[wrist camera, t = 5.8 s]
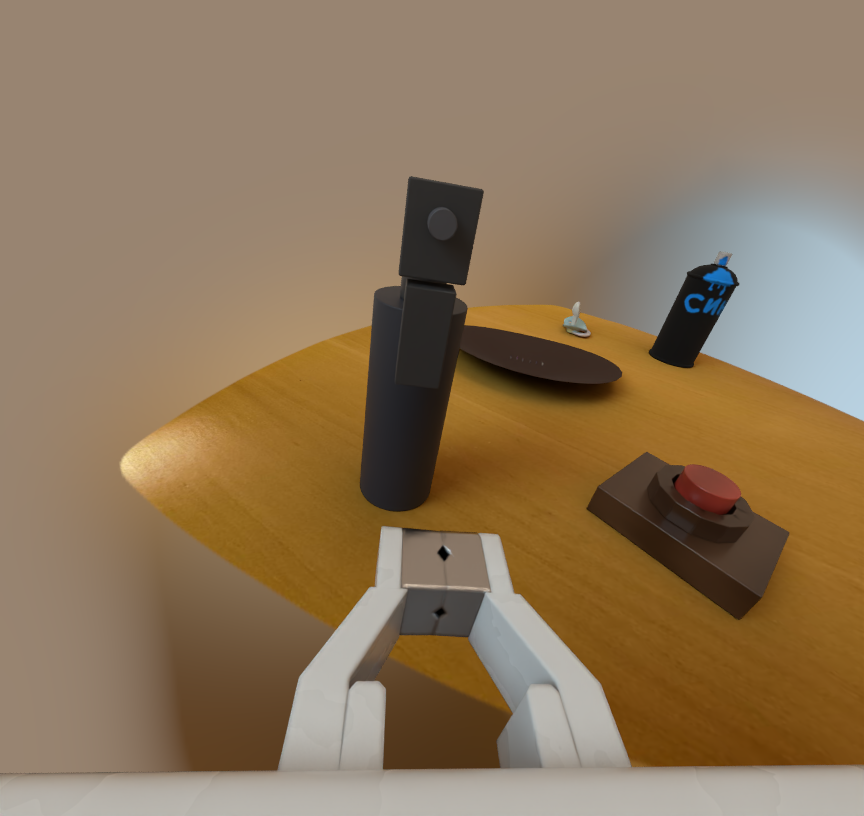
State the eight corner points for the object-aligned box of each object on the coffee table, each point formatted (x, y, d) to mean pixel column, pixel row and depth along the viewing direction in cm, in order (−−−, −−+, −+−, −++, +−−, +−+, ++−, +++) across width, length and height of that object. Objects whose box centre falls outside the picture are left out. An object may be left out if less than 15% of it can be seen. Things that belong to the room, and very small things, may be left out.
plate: (597, 350, 72) (604, 332, 70) (636, 426, 48) (649, 402, 46) (455, 319, 75) (458, 301, 73) (424, 377, 51) (429, 352, 49)
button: (735, 502, 31) (747, 486, 30) (720, 523, 28) (733, 506, 27) (683, 473, 33) (694, 458, 32) (666, 490, 31) (676, 474, 30)
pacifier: (589, 332, 82) (562, 324, 84) (601, 304, 79) (573, 296, 81) (588, 341, 76) (559, 333, 78) (601, 312, 73) (571, 303, 75)
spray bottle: (434, 557, 26) (522, 196, 15) (348, 552, 26) (372, 169, 14) (428, 465, 35) (481, 190, 24) (363, 459, 34) (386, 172, 23)
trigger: (438, 389, 20) (456, 293, 18) (394, 384, 20) (406, 285, 17) (437, 376, 22) (453, 284, 19) (395, 371, 21) (406, 277, 19)
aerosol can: (643, 347, 78) (691, 245, 68) (683, 355, 78) (738, 254, 68) (656, 362, 71) (712, 251, 61) (700, 371, 71) (764, 260, 61)
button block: (769, 553, 32) (804, 517, 30) (738, 620, 26) (779, 580, 24) (635, 471, 39) (654, 437, 37) (586, 508, 33) (606, 470, 31)
